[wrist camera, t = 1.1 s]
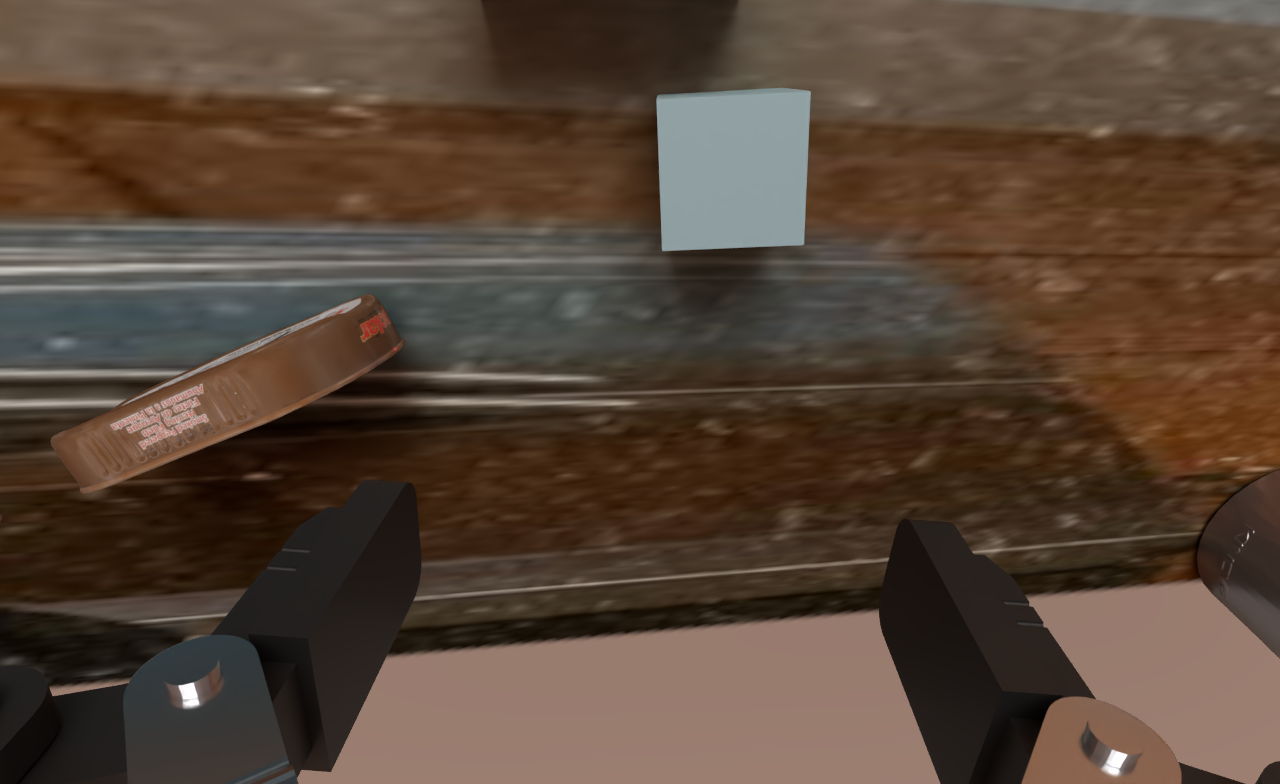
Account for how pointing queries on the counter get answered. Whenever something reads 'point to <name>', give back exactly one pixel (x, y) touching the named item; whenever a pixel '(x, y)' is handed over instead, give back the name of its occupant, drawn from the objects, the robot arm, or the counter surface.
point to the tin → (230, 394)
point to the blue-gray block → (733, 168)
